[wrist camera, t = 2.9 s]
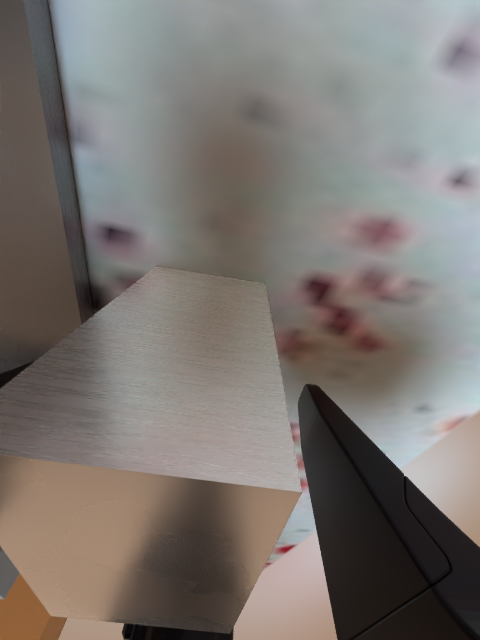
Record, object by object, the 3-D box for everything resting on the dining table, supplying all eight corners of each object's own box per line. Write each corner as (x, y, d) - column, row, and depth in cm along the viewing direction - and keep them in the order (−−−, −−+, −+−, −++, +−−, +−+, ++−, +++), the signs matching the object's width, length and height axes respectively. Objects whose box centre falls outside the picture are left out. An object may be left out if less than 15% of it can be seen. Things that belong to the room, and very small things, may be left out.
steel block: (265, 283, 9) (301, 492, 3) (240, 400, 12) (229, 633, 5) (156, 265, 9) (-72, 445, 3) (157, 388, 12) (50, 616, 5)
